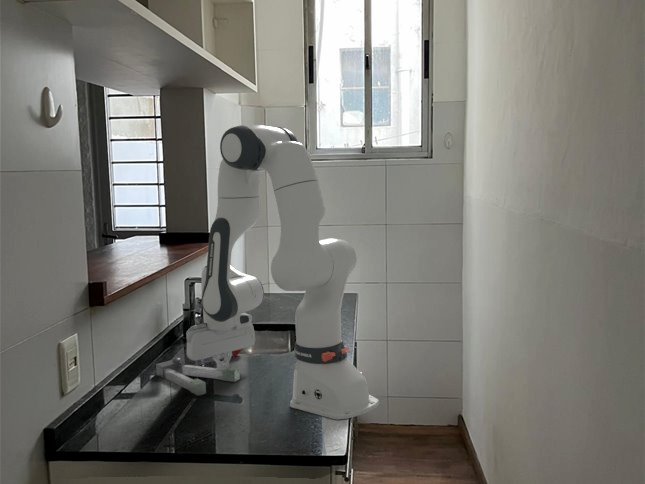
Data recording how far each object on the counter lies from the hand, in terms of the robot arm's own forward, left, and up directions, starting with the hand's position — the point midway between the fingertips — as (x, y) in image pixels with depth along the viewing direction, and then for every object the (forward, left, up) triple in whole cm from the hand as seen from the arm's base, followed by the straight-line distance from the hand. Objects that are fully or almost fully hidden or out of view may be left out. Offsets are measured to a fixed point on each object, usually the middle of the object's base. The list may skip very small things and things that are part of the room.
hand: (223, 368), depth 180 cm
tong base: (+3, +10, -2) cm, 11 cm away
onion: (+13, -12, -2) cm, 18 cm away
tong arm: (+2, +5, -2) cm, 5 cm away
